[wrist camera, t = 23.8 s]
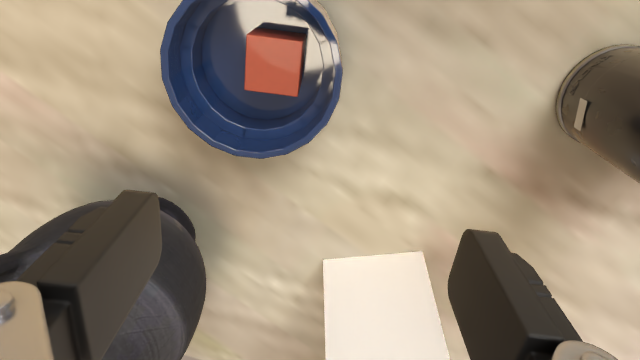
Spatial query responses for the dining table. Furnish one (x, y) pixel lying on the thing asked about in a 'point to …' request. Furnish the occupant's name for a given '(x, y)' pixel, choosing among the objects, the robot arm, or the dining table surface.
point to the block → (274, 61)
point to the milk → (381, 309)
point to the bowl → (229, 74)
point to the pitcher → (156, 298)
